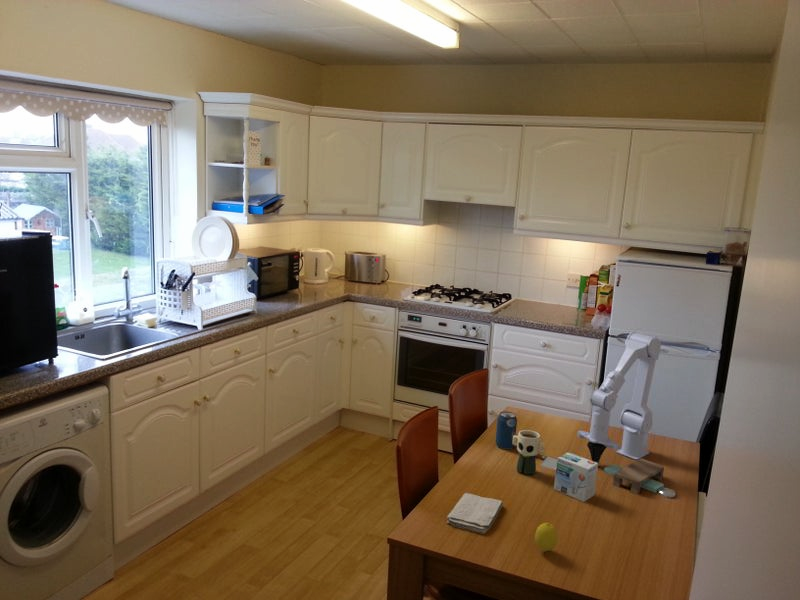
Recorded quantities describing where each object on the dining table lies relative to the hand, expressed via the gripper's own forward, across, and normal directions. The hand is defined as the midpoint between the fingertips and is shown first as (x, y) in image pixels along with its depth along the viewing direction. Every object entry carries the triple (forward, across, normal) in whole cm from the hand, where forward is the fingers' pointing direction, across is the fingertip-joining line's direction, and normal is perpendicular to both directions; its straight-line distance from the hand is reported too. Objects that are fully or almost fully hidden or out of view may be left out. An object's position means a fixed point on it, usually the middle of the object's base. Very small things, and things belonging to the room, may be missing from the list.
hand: (595, 463), depth 222 cm
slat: (+2, +13, +1) cm, 14 cm away
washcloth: (+2, -5, -58) cm, 58 cm away
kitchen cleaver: (+2, -10, -11) cm, 15 cm away
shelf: (+1, +15, +1) cm, 15 cm away
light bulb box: (+1, +6, -23) cm, 24 cm away
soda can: (+1, -29, -12) cm, 31 cm away
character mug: (+1, -12, -23) cm, 26 cm away
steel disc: (+1, +25, 0) cm, 25 cm away
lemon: (+1, +18, -58) cm, 61 cm away
